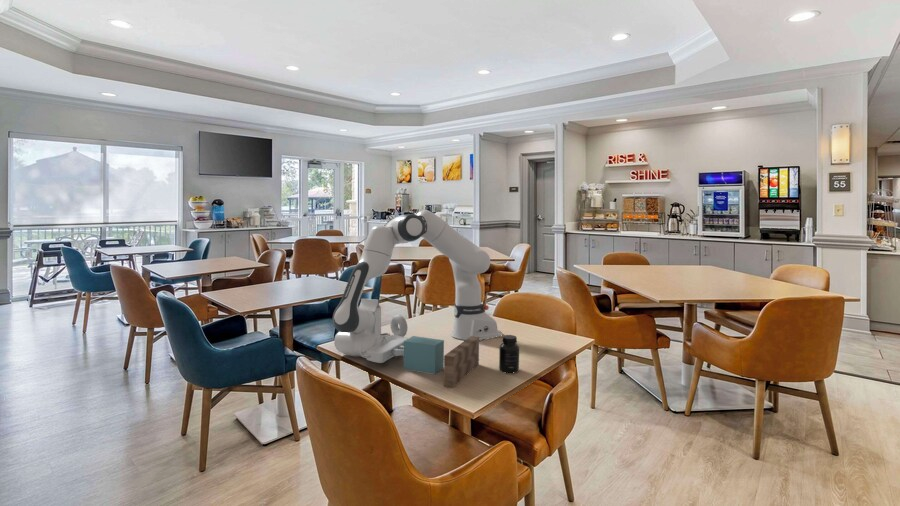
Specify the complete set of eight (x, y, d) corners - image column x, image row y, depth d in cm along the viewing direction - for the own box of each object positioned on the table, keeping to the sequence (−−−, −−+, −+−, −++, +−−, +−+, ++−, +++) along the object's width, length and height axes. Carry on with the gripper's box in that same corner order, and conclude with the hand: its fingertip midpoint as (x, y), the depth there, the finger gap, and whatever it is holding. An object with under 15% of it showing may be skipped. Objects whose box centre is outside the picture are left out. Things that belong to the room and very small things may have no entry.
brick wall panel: (470, 363, 168) (471, 336, 167) (478, 364, 167) (479, 337, 166) (443, 386, 146) (444, 355, 145) (452, 388, 145) (453, 356, 144)
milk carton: (375, 348, 183) (374, 301, 181) (358, 347, 185) (357, 300, 183) (381, 343, 190) (381, 297, 188) (364, 342, 192) (364, 297, 190)
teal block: (403, 369, 162) (403, 341, 160) (413, 363, 168) (413, 335, 167) (435, 374, 157) (435, 345, 156) (443, 367, 163) (443, 340, 162)
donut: (388, 335, 202) (388, 313, 201) (395, 334, 204) (395, 312, 203) (402, 341, 194) (402, 317, 193) (409, 339, 197) (409, 316, 196)
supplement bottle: (497, 367, 165) (498, 333, 163) (516, 366, 165) (517, 333, 164) (501, 374, 158) (501, 339, 156) (520, 373, 158) (521, 339, 157)
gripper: (358, 346, 160) (393, 351, 155) (388, 331, 179) (421, 336, 173) (358, 364, 161) (393, 370, 155) (388, 347, 179) (421, 352, 174)
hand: (408, 352), depth 164 cm, fingers closed
